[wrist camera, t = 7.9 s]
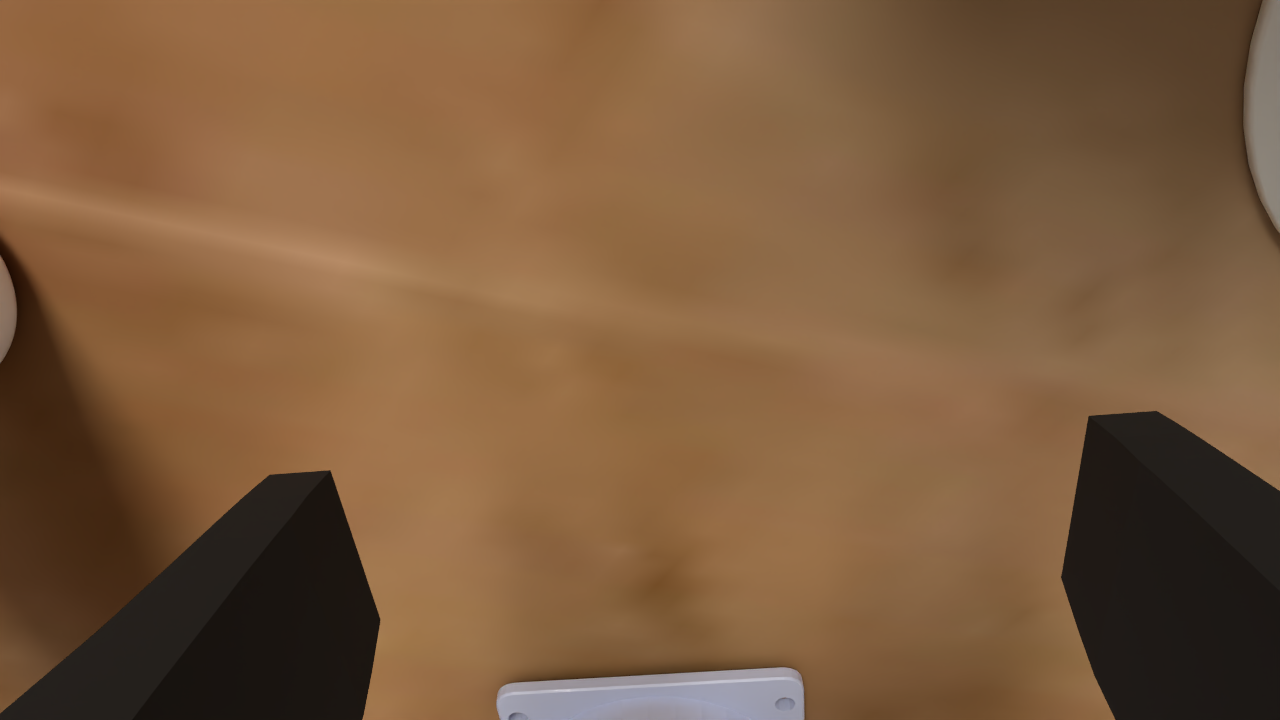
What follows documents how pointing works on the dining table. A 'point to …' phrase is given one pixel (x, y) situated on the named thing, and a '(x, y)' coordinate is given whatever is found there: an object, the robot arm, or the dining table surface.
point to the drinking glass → (6, 310)
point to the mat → (1264, 108)
